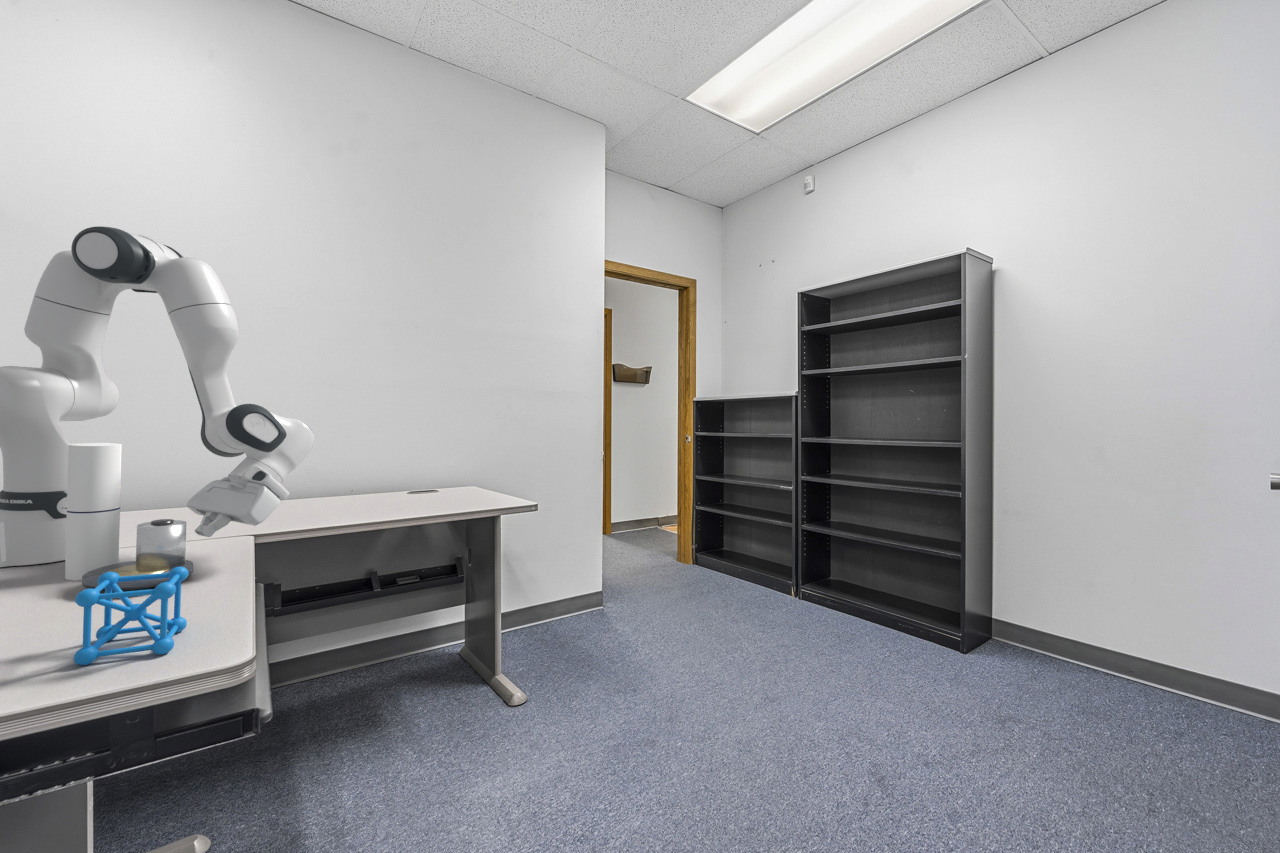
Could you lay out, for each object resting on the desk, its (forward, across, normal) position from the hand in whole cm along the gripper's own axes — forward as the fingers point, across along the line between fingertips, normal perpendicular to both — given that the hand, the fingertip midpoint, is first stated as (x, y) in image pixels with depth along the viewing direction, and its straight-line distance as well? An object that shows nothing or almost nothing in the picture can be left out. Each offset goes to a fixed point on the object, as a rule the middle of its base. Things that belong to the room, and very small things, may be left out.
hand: (201, 534), depth 108 cm
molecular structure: (+22, +28, -12) cm, 38 cm away
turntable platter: (+11, 0, -3) cm, 12 cm away
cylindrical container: (+13, -13, -2) cm, 19 cm away
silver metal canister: (+8, 0, -2) cm, 8 cm away
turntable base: (+12, 0, -2) cm, 12 cm away
